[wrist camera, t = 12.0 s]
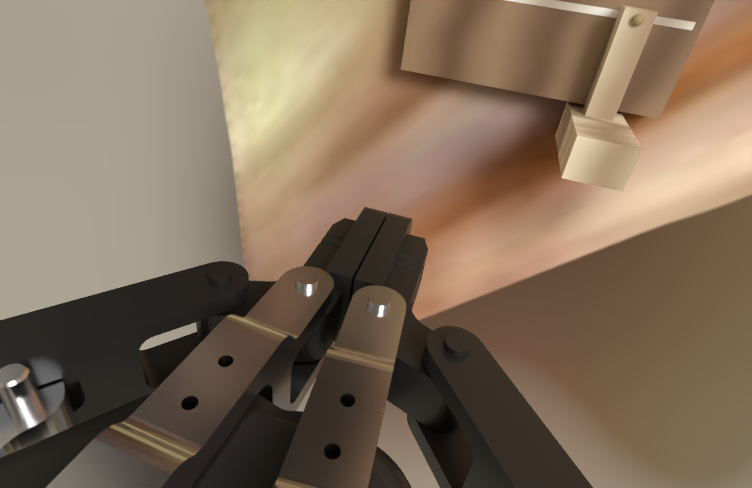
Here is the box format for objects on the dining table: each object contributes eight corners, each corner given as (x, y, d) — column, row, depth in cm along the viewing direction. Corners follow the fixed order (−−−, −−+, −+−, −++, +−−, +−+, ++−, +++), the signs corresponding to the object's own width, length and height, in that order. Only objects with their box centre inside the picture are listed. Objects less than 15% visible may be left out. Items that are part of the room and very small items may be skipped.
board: (405, 64, 40) (400, 69, 38) (422, -46, 35) (416, -46, 34) (653, 111, 36) (659, 119, 35) (705, -3, 32) (714, -1, 30)
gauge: (554, 138, 39) (560, 180, 32) (602, 0, 33) (623, 12, 26) (603, 148, 38) (621, 194, 31) (660, 9, 33) (699, 25, 25)
